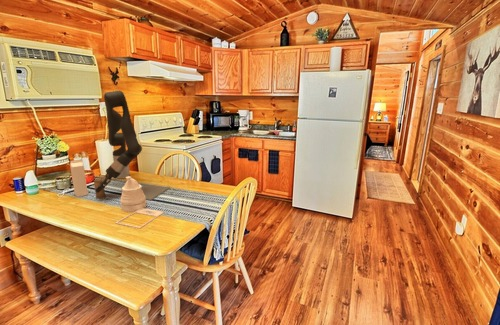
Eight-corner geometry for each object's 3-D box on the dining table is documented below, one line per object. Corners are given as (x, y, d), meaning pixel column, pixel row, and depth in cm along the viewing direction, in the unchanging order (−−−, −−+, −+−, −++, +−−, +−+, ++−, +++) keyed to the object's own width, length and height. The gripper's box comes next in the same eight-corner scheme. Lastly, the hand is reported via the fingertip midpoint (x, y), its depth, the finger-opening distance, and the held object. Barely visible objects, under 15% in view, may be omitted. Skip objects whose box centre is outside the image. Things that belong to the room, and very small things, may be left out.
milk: (88, 194, 160) (83, 160, 154) (76, 197, 156) (70, 162, 150) (85, 191, 164) (80, 158, 158) (74, 194, 160) (69, 159, 154)
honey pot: (137, 212, 136) (133, 180, 131) (115, 210, 138) (111, 178, 134) (151, 203, 148) (148, 173, 144) (131, 201, 151) (127, 171, 146)
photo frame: (164, 211, 136) (139, 227, 120) (164, 213, 136) (139, 229, 120) (141, 207, 141) (115, 222, 124) (141, 209, 141) (115, 224, 124)
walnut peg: (100, 195, 158) (98, 178, 156) (107, 196, 157) (104, 179, 155) (94, 198, 154) (91, 181, 151) (101, 199, 153) (98, 181, 150)
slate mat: (146, 185, 176) (146, 184, 176) (169, 188, 173) (169, 187, 172) (124, 197, 156) (124, 196, 155) (150, 200, 152) (150, 199, 152)
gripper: (110, 162, 160) (91, 182, 158) (110, 168, 148) (90, 190, 146) (121, 169, 164) (102, 189, 162) (122, 175, 152) (102, 197, 149)
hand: (96, 189), depth 154 cm, fingers open, 7 cm apart
